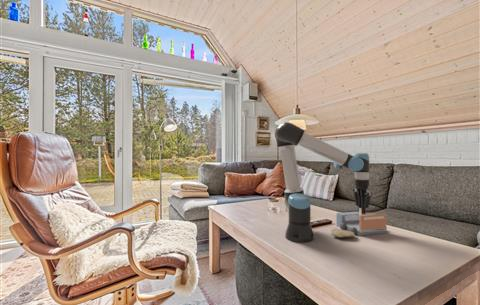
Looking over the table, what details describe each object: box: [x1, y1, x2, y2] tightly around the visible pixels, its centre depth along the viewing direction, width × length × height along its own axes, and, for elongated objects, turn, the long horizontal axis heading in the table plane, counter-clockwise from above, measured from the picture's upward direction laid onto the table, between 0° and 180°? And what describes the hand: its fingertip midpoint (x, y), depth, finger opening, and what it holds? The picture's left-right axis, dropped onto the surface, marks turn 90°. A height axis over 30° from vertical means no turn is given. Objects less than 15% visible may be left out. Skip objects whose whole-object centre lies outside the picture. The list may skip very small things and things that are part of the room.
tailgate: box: [359, 212, 387, 230], centre depth 129 cm, size 17×1×8 cm, turn 103°
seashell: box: [331, 228, 355, 239], centre depth 127 cm, size 12×12×3 cm
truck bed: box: [336, 211, 387, 236], centre depth 138 cm, size 22×20×8 cm
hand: (362, 218), depth 137 cm, fingers closed
